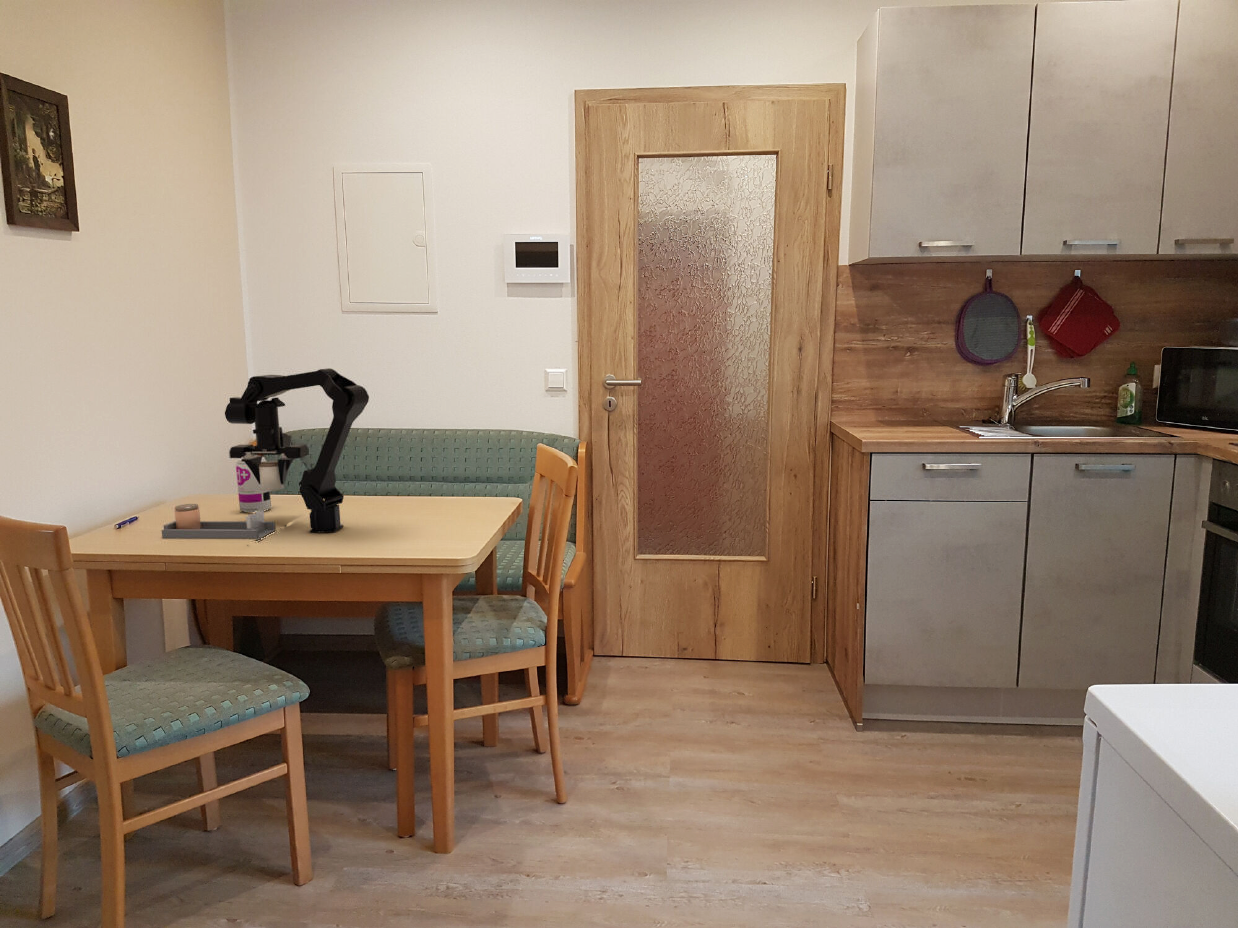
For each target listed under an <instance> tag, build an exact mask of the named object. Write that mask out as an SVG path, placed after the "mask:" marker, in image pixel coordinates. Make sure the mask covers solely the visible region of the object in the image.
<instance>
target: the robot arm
mask: <svg viewBox="0 0 1238 928" xmlns="http://www.w3.org/2000/svg"><path fill="white" fill-rule="evenodd" d="M317 386H320V387H321V388H322V389H323V391H324V393H325V394H326V396H327V397H328V398H329V399H330V400H332V405H331V407H332V409H331V410H332V416H333V418H332V420H331V423H330V425H329V429H328V431H327V434H326V437H325V439H324V441H323V444H322V447H321V450H320V452H319V454H318V457H317V460H316V463H315V465H314V467H312V468H309V469H308V468H307V469H305V470H304V471H303V473H302V477H301V480H300V482H299V483H298V485H299V494H300V496H301V498H302V499H303V502H304V505H305V506H306V510H310V512H309V513H308V514H309V525H310V529H309V533H336V532H337V531H339V530H340V529H342V528H343V527H344V524H341V512H340V504H343V501H344V495H343V493H342V492H341V491H340V490H339V489H338V488H337V487H336V481H337V479H336V478H337V477H336V472H335V471H336V467H337V465H338V462H339V459H340V457H341V455H342V452H343V449H344V447H345V444H346V441H347V438H348V436H349V434H350V431H351V428H352V425H353V423H354V421H356V419H358V418H359V416H360V415H361V414H362V413H363V411H364V410H365V408H366V406H367V405H368V403H369V399H370V396H369V393H368V390H366V388H364V387H363V386H361V385H359V384H357V383H355V382H354V381H353V380H351V379H349V378H347V377H345V376H343V375H341V374H340V373H339V372H337V370H334V369H333V368H320V369H318V370H315V371H308V372H302V373H295V374H288V375H281V374H265V375H263V374H262V375H256V376H255V375H254V376H251V377H250V378H249V379H248V382H247V386H246V389H245V390H244V391H243V393H242V395H241V397H239V396H238V397H237V396H233V397H229V403H228V404H227V405H226V407H225V411H224V416H225V419H226V421H227V422H228V423H229V424H233V425H235V424H237V425H238V424H240V425H252V424H253V425H254V429H252V434H253V435H255V440H256V445H253V444H238V445H234V446H231V447H230V448H229V451H228V454H229V455H228V456H229V459H240V458H243V459H241V461H242V462H245V463H246V465H247V466H248V467H249V468H250V470H251V471H252V473H253V475H254V476H255V478H256V479H257V481H258V483H259V484H260V473H259V466H260V465H259V463H260V462H261V460H262V457H263V456H281V458H279V459H277V461H278V468H279V476H280V481H281V484H282V485H285V483H286V480H287V477H288V472H289V469H290V467H291V464H292V463H293V461H294V460H296V459H301V458H304V457H308V456H309V455H310V451H309V446H308V445H306V444H292V443H291V442H292V436H291V435H290V434H287V433H284V432H283V428H282V426H280V423H279V422H280V420H279V418H280V417H279V411H278V410H279V408H282V407H286V403H285V402H283V401H282V400H281V399H280V397H277V396H280V395H283V394H285V393H287V392H289V391H291V390H296V389H303V388H310V387H317ZM269 398H271V399H270V400H269Z"/></svg>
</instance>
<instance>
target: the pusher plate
mask: <svg viewBox="0 0 1238 928" xmlns="http://www.w3.org/2000/svg"><path fill="white" fill-rule="evenodd" d="M264 512H265V511H263V510H259V511H257V512H255V513H249V515H247V516H245V518H246V520H245V521H247V530H258V531H259V532H261V531H263V530H265V522H264V521H265V514H264Z"/></svg>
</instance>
